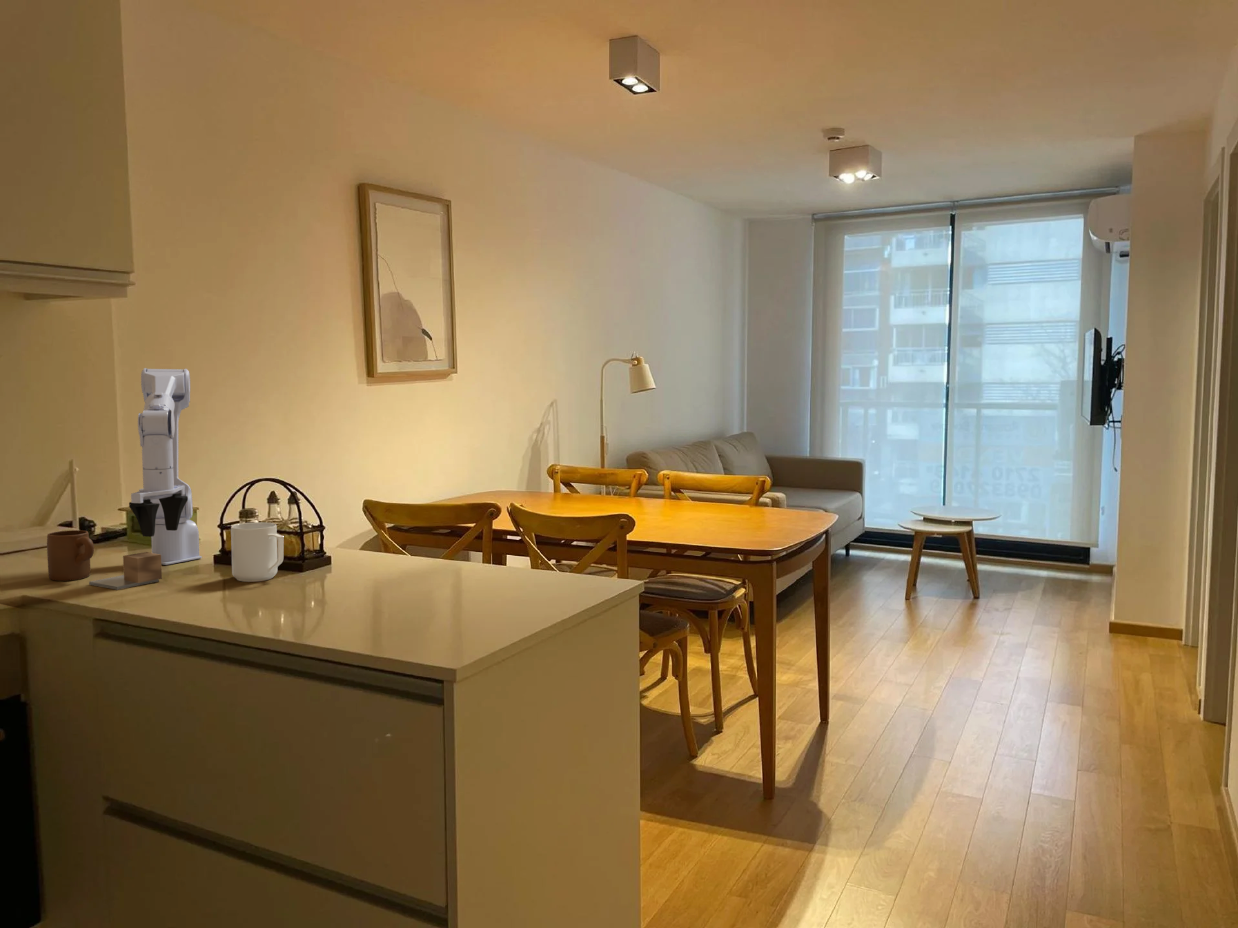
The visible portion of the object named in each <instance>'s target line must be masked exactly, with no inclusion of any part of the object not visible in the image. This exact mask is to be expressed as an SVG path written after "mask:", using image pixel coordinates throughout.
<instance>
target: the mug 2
mask: <svg viewBox="0 0 1238 928" xmlns="http://www.w3.org/2000/svg"><path fill="white" fill-rule="evenodd" d="M277 527H278V526H277V524H276V523H275V522H261V521H259V522H245V523H237V524H234V525H232V526H231V527H230V537H231V538H230V540H231V541H230V543H231V546H230V547H231V574H232V576H233V577H234V578H235V579H236V580H237V581H239V582H243V583H244V582H248V583H250V582H251V583H252V582H253V583H254V582H264V581H268V580H271V579H273V578H274V576H276V575H277V573H278V567H279V566H280V565H281V564H283V561H284V558H285V557H284V552H285V551H284V545H285V543H284V541H285V539H284V537H285V536H284V535H281V534H280V533H278V532H277V531H278V530H277Z"/></svg>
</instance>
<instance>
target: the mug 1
mask: <svg viewBox="0 0 1238 928" xmlns="http://www.w3.org/2000/svg"><path fill="white" fill-rule="evenodd" d="M94 552H95V545H94V542H93V540H92V539H91V538H90V535H89V531H87V530H83V529H82V530H81V529H80V530H78V529H75V530H74V529H73V530H61V531H53V532H49V533H47V535H46V554H47V557H46V558H47V568H48V569H47V570H48V571H47V572H48V578H49V579H50V580H52V581H57V582H67V581H76V580H81V579H83V580H84V579H86V578H88V577H89V576H90V575H91V559H92V557H93V555H94Z"/></svg>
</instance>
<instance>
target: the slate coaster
mask: <svg viewBox="0 0 1238 928" xmlns="http://www.w3.org/2000/svg"><path fill="white" fill-rule="evenodd" d="M159 580H160V579H157V580H152V581H147V582H141V583H136V582H131V581H126V580H124V574H121V575H117V576H111V577H105V578H102V579H96V580H92V581H91V580H90V581H88V583H89V586H95V587H101V588H104V589H105V588H107V589H111V590H116V591H118V590H123V589H127V588H132V587H138V586H142V585H147V584H152V583H156V582H157V583H159V582H160V581H159Z"/></svg>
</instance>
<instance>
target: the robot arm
mask: <svg viewBox="0 0 1238 928" xmlns="http://www.w3.org/2000/svg"><path fill="white" fill-rule="evenodd" d="M140 386H141V393H142V395H143V396H142V397H143V402H144V407H143V411H142V412H139V413H138V414H137V415H138V416H137V431H138V435H139V445H140V447H141V462H142V466H141V467H142V488H139V489H138V491H136V492H132V493H131V494H130V498H131V499H130V500H131V501H129V503H128V507H129V509H131V511H132V513H133V515H134V516H135V519H136V520H137V523H138V525H139V528H140V531H141V535H142V537H147V538H148V537H149V538H151V553H155V554H160V555H161V566H162V565H163V566H167V565H173V564H177V563H182V562H188V561H193V560H199V559H202V558H203V557H202V555H200V533H199V528H198V526H197V524H196V522H195V521H193V520H192V518H193V511H194V510H193V494H192V492H193V491H192V489H191V487H190V485H189V484H188V483H187V482H185V481H183V480H182V479H180V477H179V420H180V417H181V413H182V411H183V410H185V409H186V408H189V407H190V403H191V375H190V371H189V370H188V368H184V369H183V368H182V369H180V368H179V369H177V368H171V369H170V368H147V367H144V368H143V369H142V370H141V373H140Z"/></svg>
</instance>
